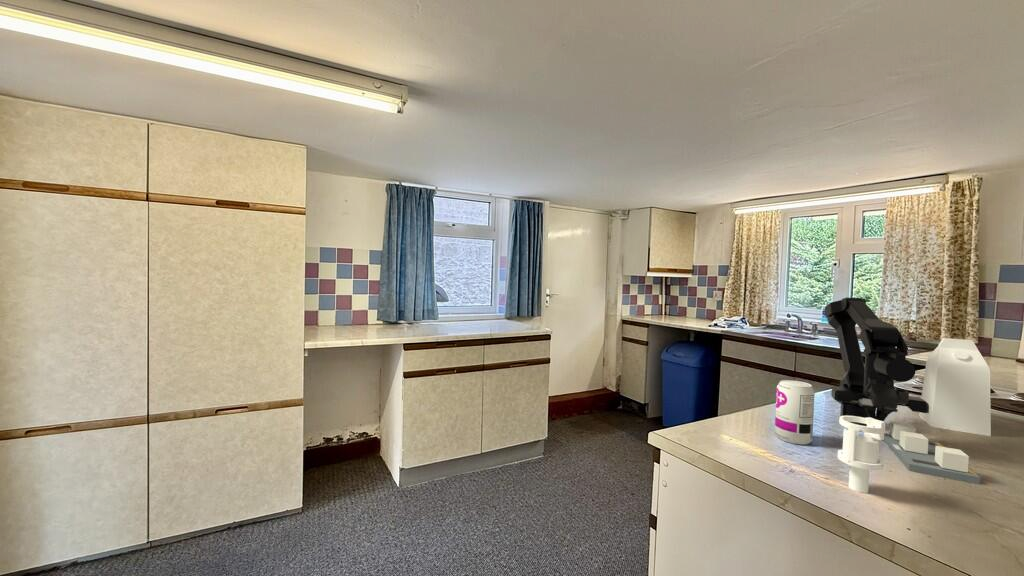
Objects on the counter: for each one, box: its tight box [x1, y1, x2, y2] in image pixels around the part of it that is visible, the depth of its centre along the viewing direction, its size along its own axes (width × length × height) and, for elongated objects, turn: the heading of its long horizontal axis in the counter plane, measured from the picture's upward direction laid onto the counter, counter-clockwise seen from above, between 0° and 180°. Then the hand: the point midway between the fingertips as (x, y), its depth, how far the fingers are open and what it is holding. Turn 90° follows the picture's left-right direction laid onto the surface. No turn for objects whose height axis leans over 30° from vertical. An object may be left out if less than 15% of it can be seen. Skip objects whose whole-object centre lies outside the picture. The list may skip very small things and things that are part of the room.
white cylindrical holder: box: [837, 416, 886, 494], centre depth 82 cm, size 7×7×15 cm
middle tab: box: [899, 431, 929, 454], centre depth 99 cm, size 4×4×4 cm
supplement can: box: [774, 379, 816, 446], centre depth 108 cm, size 8×8×15 cm
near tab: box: [935, 446, 970, 472], centre depth 90 cm, size 4×4×4 cm
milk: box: [918, 337, 992, 437], centre depth 122 cm, size 12×12×26 cm
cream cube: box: [889, 420, 917, 440], centre depth 106 cm, size 4×4×4 cm
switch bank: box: [882, 432, 981, 485], centre depth 98 cm, size 11×22×2 cm, turn 150°
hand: (875, 430), depth 109 cm, fingers closed
